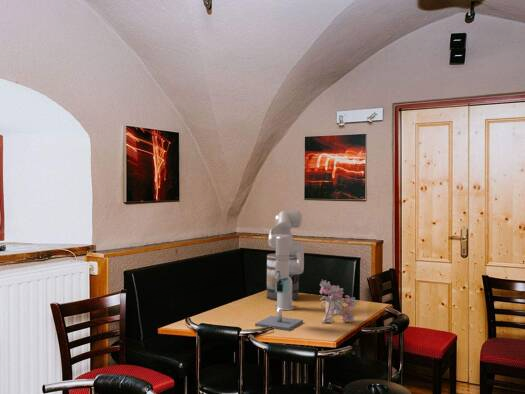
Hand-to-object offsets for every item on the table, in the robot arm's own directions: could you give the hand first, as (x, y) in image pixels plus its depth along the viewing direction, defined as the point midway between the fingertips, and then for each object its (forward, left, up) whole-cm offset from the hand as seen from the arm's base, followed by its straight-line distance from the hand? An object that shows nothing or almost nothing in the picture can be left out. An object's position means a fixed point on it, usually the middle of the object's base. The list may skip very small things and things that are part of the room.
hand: (282, 290), depth 284 cm
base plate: (0, -1, -19) cm, 19 cm away
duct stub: (0, -1, -18) cm, 18 cm away
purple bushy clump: (-40, +15, -19) cm, 47 cm away
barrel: (-68, -30, -19) cm, 77 cm away
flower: (-22, +27, -19) cm, 40 cm away
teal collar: (0, 0, -1) cm, 1 cm away
